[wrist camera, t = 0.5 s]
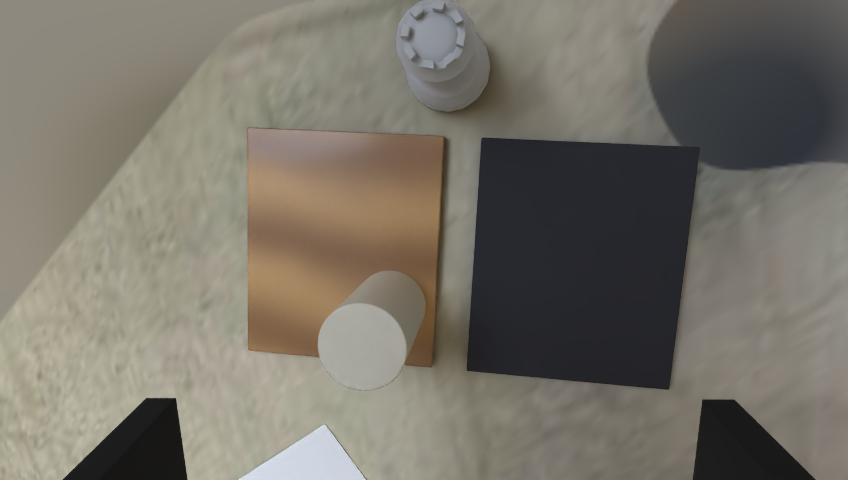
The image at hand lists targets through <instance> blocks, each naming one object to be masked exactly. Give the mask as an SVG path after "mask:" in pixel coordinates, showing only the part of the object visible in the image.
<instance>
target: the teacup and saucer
mask: <svg viewBox="0 0 848 480" xmlns="http://www.w3.org/2000/svg"><path fill="white" fill-rule="evenodd" d="M239 480H366V479H365V478H364V476H363V475H362V474H361V472H360V471H359V470H358V468H357V467H356V465H355V464H354V463H353V461H352V460H351V459H350V457H349V456H348V455H347V453H346V452H345V451H344V449H343V448H342V446H341V445H340V444H339V442H338V441H337V440H336V438H335V437H334V436H333V434H332V433H331V432H330V430H329V429H328V427H327V426H326V425H325V424H324V425H322V426H321V427H319V428H318V429H316V430H315V431H313V432H312V433H310V434H308V435H307V436H305V437H304V438H302V439H301V440H299V441H298V442H296V443H294V444H293V445H291V446H290V447H288V448H287V449H285V450H284V451H282V452H280V453H279V454H277V455H276V456H274V457H273V458H271V459H270V460H268V461H266V462H265V463H263V464H262V465H260V466H259V467H257V468H256V469H254V470H253V471H251V472H249V473H248V474H246V475H245V476H243V477H242V478H240V479H239Z"/></svg>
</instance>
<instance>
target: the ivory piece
mask: <svg viewBox="0 0 848 480" xmlns="http://www.w3.org/2000/svg"><path fill="white" fill-rule="evenodd" d="M425 310H426V302H425V297H424V294H423V292H422V290H421V288H420V286H419V285H418V284H417V283H416V282H415V281H414V280H413V279H412V278H411V277H409V276H408V275H406V274H404V273H401V272H398V271H381V272H378V273H375V274H373V275H372V276H370V277H369V278H367V279H366V280H365V281H364V282H363V283H362V284H361V285H360V286H359V287H358V288H357V289H356V290H355V291H354V292H353V293H352V294H351V295H350V296H349V297H348V298H347V299H346V300H345V301H344V302H343V303H341V304H340V305H339V306H338V307H337V308H336V309H335V310H334V311H333V312H332V313H331V314H330V315H329V316H328V317H327V319H326V320H325V321H324V323H323V325H322V327H321V329H320V332H319V336H318V352H319V356H320V359H321V362H322V364H323V366H324V368H325V369H326V371H327V372H328V373H329V374H330V376H331V377H333V378H334V379H335V380H336V381H337V382H339V383H340V384H342V385H344V386H346V387H348V388H351V389H355V390H363V391H367V390H375V389H379V388H381V387H384V386H386V385H387V384H389V383H390V382H392V381H393V380H394V379H395V378H396V377H397V376H398V375H399V373H400V372H401V370H402V369H403V367H404V364H405V362H406V359H407V357H408V355H409V352H410V350H411V347H412V345H413V343H414V340H415V338H416V335H417V333H418V330H419V328H420V326H421V323H422V321H423V318H424V315H425Z"/></svg>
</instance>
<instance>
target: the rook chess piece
mask: <svg viewBox="0 0 848 480" xmlns="http://www.w3.org/2000/svg"><path fill="white" fill-rule="evenodd" d="M395 44H396V48H397V53H398V58H399V60H400V61H401V62H402V64H403V65H404V68H405V72H406V77H407V82H408V85H409V87H410V88H411V90H412V91H413V93H414V94H415V96H416V97H417V99H418V100H419V101H420V102H422V103H424V104H425V105H427V106H428V107H430V108H431V109H434V110H440V111H446V112H450V111H454V110H458V109H463V108H465V107H467V106H468V105H469V104H471V103H472V102H474V101H475V100H476V99H478V98H479V96H480V95H481V93H482V91H483V90H484V88H485V87H486V85H487V83H488V78H489V73H490V67H491V66H490V61H489V55H488V50H487V48H486V46H485V44H484V43H483V41H482V40H481V38H480V37H479V35H478V34H477V32H475V29H474V25H473V21H472V20H471V18H470V17H469V15H468V14H467V12H466V11H465V9H464V8H463V7H461V6H459V5H458V4H456V3H455V2H453V1H452V0H423V1H419V2H418V3H417V4H415V5H414V6H413V7H411V8H410V9H409V10H408V11H406V13H405V14H404V16H403V18H402V20H401V21H400V23H399V25H398V28H397V34H396V40H395Z"/></svg>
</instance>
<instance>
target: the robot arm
mask: <svg viewBox="0 0 848 480" xmlns="http://www.w3.org/2000/svg"><path fill="white" fill-rule="evenodd" d="M63 480H187V474H186V466H185V459H184V452H183V445H182V438H181V431H180V424H179V417H178V410H177V403H176V398H146V399H145V400H144V401H143V402H142V403H141V404H140V405H139V406H138V407H137V408H136V409H135V410H134V411H133V412H132V413H131V414H130V415H129V416H128V417H127V418H125V419H124V420H123V421H122V422H121V423H120V424H119V425H118V426H117V427H116V428H115V429H114V430H113V431H112V432H111V433H110V434H109V435H108V436H107V437H106V438H105V439H104V440H103V441H102V442H101V443H100V444H99V445H98V446H97V447H96V448H95V449H94V450H93V451H92V452H91V453H90V454H89V455H87V456H86V457H85V458H84V459H83V460H82V461H81V462H80V463H79V464H78V465H77V466H76V467H75V468H74V469H73V470H72V471H71V472H70V473H69V474H68V475H67V476H66V477H65V478H64V479H63ZM693 480H815V479H814V478H813V477H812V476H811V475H810V474H809V473H808V472H807V471H806V470H805V469H804V468H803V467H802V466H801V465H800V464H799V463H798V462H797V461H796V460H795V459H794V458H793V457H792V456H791V455H790V454H789V453H788V452H787V451H786V450H785V449H784V448H783V447H782V446H781V445H780V444H779V443H778V442H777V441H776V440H775V439H774V438H773V437H772V436H771V435H770V434H769V433H768V432H767V431H766V430H765V429H764V428H763V427H762V426H761V425H760V424H759V423H758V422H757V421H756V420H755V419H754V418H753V417H752V416H750V415H749V414H748V413H747V412H746V411H745V410H744V409H743V408H742V407H741V406H740V405H739V404H738V403H737V402H736V401H735V400H702V408H701V416H700V424H699V433H698V441H697V449H696V458H695V466H694V474H693Z"/></svg>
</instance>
